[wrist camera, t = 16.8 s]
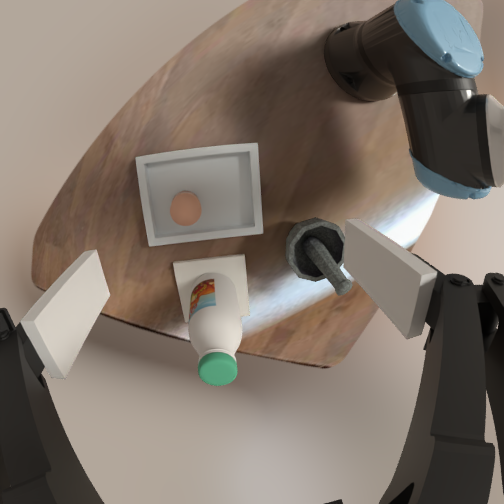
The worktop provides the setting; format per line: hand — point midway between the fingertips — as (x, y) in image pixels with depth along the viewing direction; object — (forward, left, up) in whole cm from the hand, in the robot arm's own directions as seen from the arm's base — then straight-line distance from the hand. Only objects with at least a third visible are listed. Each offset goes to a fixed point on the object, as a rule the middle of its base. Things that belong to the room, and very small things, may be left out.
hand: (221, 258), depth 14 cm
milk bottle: (+2, +19, -31) cm, 36 cm away
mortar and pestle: (-15, +12, -32) cm, 37 cm away
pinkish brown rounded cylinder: (+5, +3, -31) cm, 31 cm away
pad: (+2, +19, -31) cm, 36 cm away
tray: (+2, +2, -31) cm, 32 cm away
